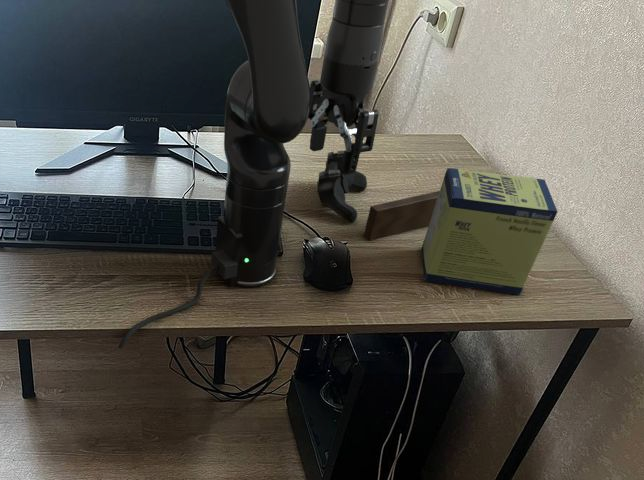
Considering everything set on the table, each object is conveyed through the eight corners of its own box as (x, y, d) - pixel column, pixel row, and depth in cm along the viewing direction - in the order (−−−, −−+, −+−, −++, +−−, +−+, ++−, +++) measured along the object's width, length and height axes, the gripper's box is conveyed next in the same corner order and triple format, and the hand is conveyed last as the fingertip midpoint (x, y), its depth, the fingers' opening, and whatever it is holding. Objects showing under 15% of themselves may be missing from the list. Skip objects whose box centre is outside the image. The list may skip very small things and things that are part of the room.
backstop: (369, 240, 123) (376, 210, 119) (363, 235, 124) (370, 206, 120) (456, 219, 130) (466, 190, 126) (450, 215, 131) (459, 186, 127)
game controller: (336, 193, 141) (321, 148, 137) (370, 184, 138) (355, 138, 133) (322, 232, 130) (304, 184, 125) (357, 224, 126) (341, 174, 121)
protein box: (522, 296, 112) (560, 210, 102) (423, 282, 114) (450, 197, 104) (512, 261, 120) (546, 178, 110) (419, 248, 122) (445, 166, 112)
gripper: (301, 40, 101) (286, 146, 112) (360, 73, 91) (337, 186, 102) (344, 35, 103) (325, 139, 114) (405, 67, 94) (378, 177, 104)
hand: (331, 161), depth 108 cm, fingers open, 8 cm apart
